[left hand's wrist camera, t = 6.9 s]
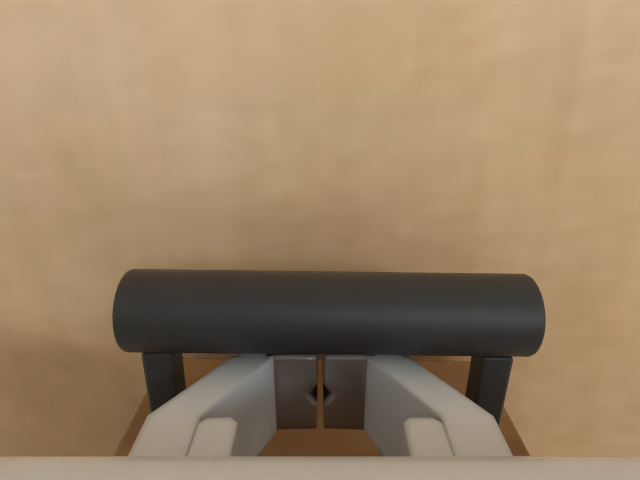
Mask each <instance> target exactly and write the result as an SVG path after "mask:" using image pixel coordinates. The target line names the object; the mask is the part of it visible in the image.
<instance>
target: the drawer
mask: <svg viewBox="0 0 640 480" xmlns="http://www.w3.org/2000/svg"><path fill="white" fill-rule="evenodd" d="M113 330H114V336H115V339H116V342H117V344H118V346H119V347H120V348H121V349H122V350H123V351H125V352H143V353H142V360H143V366H144V372H145V379H146V385H147V393H146V395H145V397H144V399H143V401H142V403H141V405H140V407H139V409H138V410H137V412H136V414H135V416H134V418H133V420H132V422H131V424H130V426H129V428H128V430H127V432H126V434H125V436H124V437H123V439H122V441H121V443H120V445H119V447H118V449H117V451H116V453H115V455H114V456H128V454H129V452H130V450H131V448H132V446H133V444H134V442H135V440H136V438H137V436H138V434H139V432H140V430H141V428H142V426H143V424H144V422H145V420H146V418H147V416H148V415H149V414H151V413H152V412H154V411H155V410H156V409H158V408H159V407H161V406H162V405H164V404H165V403H166V402H168V401H169V400H171V399H172V398H174V397H175V396H176V395H178V394H179V393H181V392H182V391H184V390H185V389H187V388H188V387H189V386H191V385H192V384H194V383H195V382H197V381H198V380H199V379H201V378H202V377H204V376H205V375H207V374H208V373H209V372H211V371H212V370H214V369H215V368H217V367H218V366H220V365H221V364H222V363H224V362H225V361H227V360H228V359H183V357H182V353H247V354H339V355H430V356H472V357H471V362H454V361H415V362H417V363H418V364H420V365H421V366H422V367H424V368H425V369H427V370H428V371H430V372H431V373H432V374H434V375H435V376H437V377H438V378H440V379H441V380H442V381H444V382H445V383H447V384H448V385H450V386H451V387H452V388H454V389H455V390H457V391H458V392H460V393H461V394H462V395H464V396H465V397H467V398H468V399H470V400H471V401H472V402H474V403H475V404H477V405H478V406H480V407H481V408H482V409H484V410H485V411H487V412H488V413H490V414H491V415H492V416H494V418H495V420H496V422H497V424H498V426H499V428H500V430H501V432H502V435H503V437H504V439H505V441H506V443H507V445H508V447H509V449H510V451H511V453H512V455H513V456H530V455H529V453H528V451H527V449H526V447H525V445H524V444H523V442H522V440H521V438H520V436H519V434H518V432H517V430H516V429H515V427H514V425H513V423H512V421H511V419H510V417H509V416H508V414H507V412H506V410H505V408H504V406H503V405H504V400H505V395H506V390H507V386H508V381H509V376H510V371H511V366H512V361H513V358H512V356H522V357H528V356H531V355H533V354H535V353H536V352H537V351H538V350H539V348H540V346H541V344H542V341H543V338H544V333H545V309H544V303H543V299H542V295H541V292H540V290H539V288H538V286H537V284H536V283H535V281H534V280H533V279H532V278H531V277H529V276H528V275H525V274H482V273H401V272H320V271H239V270H158V269H133V270H130V271H128V272H127V273H126V274H125V275H124V276H123V277H122V279H121V281H120V283H119V285H118V288H117V291H116V294H115V299H114V305H113ZM258 456H383V455H382V454H381V452H380V451H379V450H378V449H377V447H376V446H375V445H374V444H373V443H372V441H371V440H370V439H369V438H368V436H367V435H366V434H365V433H364V430H355V429H324V425H323V360H318V386H317V429H285V430H277V432H276V434H275V435H274V436H273V437H272V439H271V440H270V441H269V442H268V444H267V445H266V446H265V447H264V448H263V450H262V451H261V452H260V453H259V455H258Z"/></svg>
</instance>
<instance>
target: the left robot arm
mask: <svg viewBox="0 0 640 480" xmlns="http://www.w3.org/2000/svg"><path fill="white" fill-rule="evenodd" d="M317 386H318V354H247V353H240V355H239V356H232V357H231V358H230V359H228V360H227V361H225V362H224V363H222V364H221V365H220V366H218V367H217V368H215V369H214V370H212V371H211V372H209V373H208V374H207V375H205V376H204V377H202V378H201V379H199V380H198V381H197V382H195V383H194V384H192V385H191V386H189V387H188V388H187V389H185V390H184V391H182V392H181V393H179V394H178V395H176V396H175V397H174V398H172V399H171V400H169V401H168V402H166V403H165V404H164V405H162V406H161V407H159V408H158V409H156V410H155V411H154V412H152V413H151V414H149V415H148V416H147V418H146V420H145V422H144V424H143V426H142V428H141V430H140V432H139V434H138V436H137V438H136V440H135V442H134V444H133V446H132V448H131V450H130V452H129V454H128V456H0V480H640V456H513V455H512V453H511V451H510V449H509V447H508V445H507V443H506V441H505V439H504V437H503V435H502V432H501V430H500V428H499V426H498V424H497V422H496V420H495V418H494V416H492V415H491V414H490V413H488V412H487V411H485V410H484V409H482V408H481V407H480V406H478V405H477V404H475V403H474V402H472V401H471V400H470V399H468V398H467V397H465V396H464V395H462V394H461V393H460V392H458V391H457V390H455V389H454V388H452V387H451V386H450V385H448V384H447V383H445V382H444V381H442V380H441V379H440V378H438V377H437V376H435V375H434V374H432V373H431V372H430V371H428V370H427V369H425V368H424V367H422V366H421V365H420V364H418V363H417V362H415V361H414V360H412V359H411V358H410V357H408V356H401V355H339V354H323V425H324V429H355V430H364V433H365V434H366V435H367V436H368V438H369V439H370V440H371V441H372V443H373V444H374V445H375V446H376V447H377V449H378V450H379V451H380V452H381V454H382V455H383V456H258V455H259V453H260V452H261V451H262V450H263V448H264V447H265V446H266V445H267V444H268V442H269V441H270V440H271V439H272V437H273V436H274V435H275V434H276V432H277V430H285V429H317Z"/></svg>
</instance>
